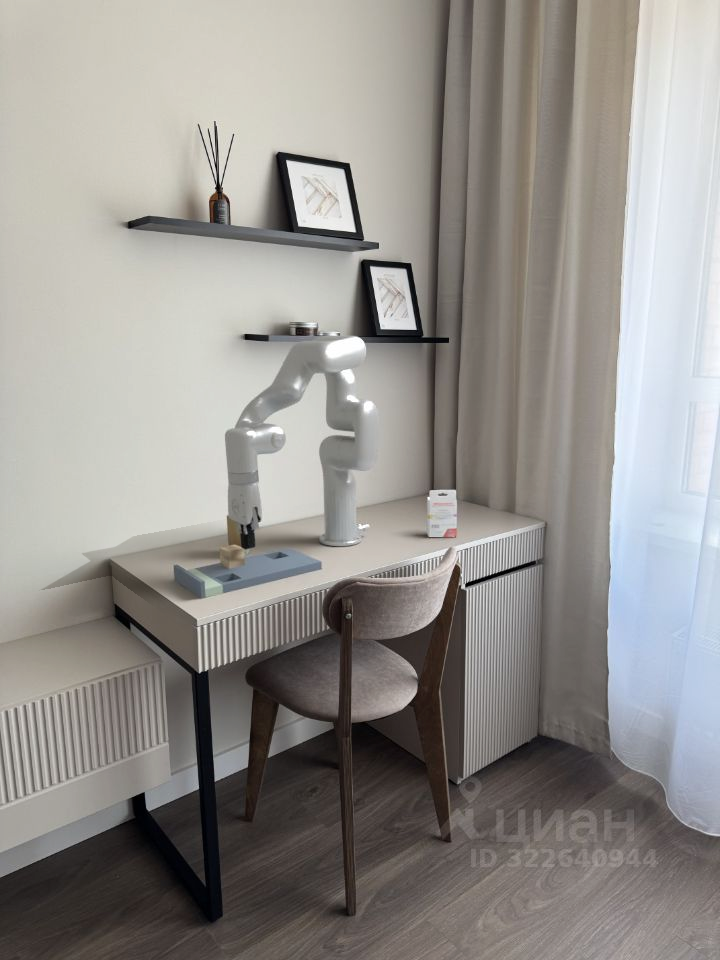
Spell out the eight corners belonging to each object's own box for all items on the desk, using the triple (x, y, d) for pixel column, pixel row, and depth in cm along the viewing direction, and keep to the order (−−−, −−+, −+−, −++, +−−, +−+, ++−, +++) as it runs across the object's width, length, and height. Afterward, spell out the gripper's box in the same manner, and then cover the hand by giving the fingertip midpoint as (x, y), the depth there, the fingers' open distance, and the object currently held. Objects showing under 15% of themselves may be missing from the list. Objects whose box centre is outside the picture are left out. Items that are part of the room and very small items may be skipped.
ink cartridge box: (454, 533, 219) (455, 486, 216) (456, 537, 214) (457, 490, 212) (426, 533, 219) (427, 486, 216) (428, 538, 214) (428, 490, 211)
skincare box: (235, 551, 204) (233, 509, 202) (250, 551, 203) (248, 509, 201) (228, 557, 198) (225, 515, 195) (243, 558, 197) (241, 515, 195)
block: (235, 560, 189) (234, 544, 188) (244, 564, 185) (243, 548, 184) (220, 564, 186) (219, 547, 185) (229, 568, 182) (228, 551, 181)
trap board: (289, 554, 200) (289, 540, 199) (321, 568, 187) (321, 554, 187) (174, 580, 180) (173, 565, 179) (201, 598, 167) (200, 582, 167)
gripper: (216, 475, 181) (222, 544, 186) (244, 485, 170) (249, 558, 174) (242, 470, 186) (247, 537, 190) (271, 480, 174) (276, 551, 178)
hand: (248, 547), depth 182 cm, fingers closed
